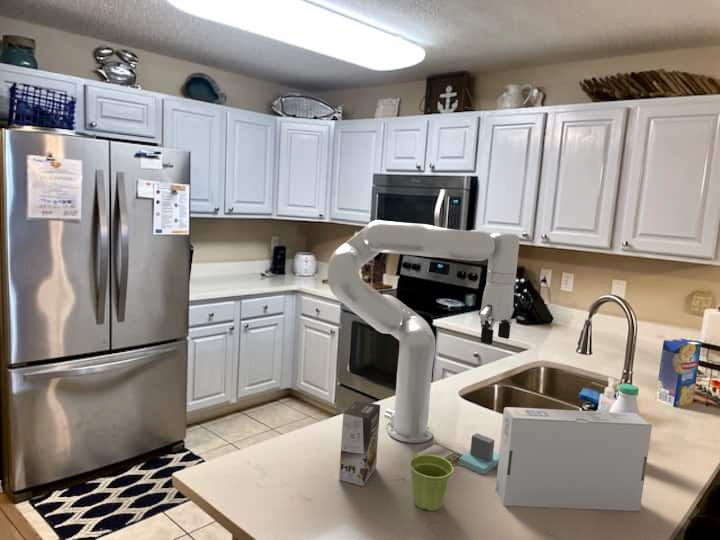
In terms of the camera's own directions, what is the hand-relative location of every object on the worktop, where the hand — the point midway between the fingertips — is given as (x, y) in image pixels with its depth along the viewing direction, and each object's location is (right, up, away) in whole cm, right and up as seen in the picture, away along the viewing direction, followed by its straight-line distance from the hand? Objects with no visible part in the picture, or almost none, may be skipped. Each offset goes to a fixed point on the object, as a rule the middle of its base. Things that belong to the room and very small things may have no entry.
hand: (495, 340), depth 138 cm
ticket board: (-17, -29, -11) cm, 35 cm away
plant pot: (-22, -31, -29) cm, 48 cm away
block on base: (-6, -30, -10) cm, 32 cm away
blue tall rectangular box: (+76, -28, +43) cm, 91 cm away
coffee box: (-37, -29, -19) cm, 51 cm away
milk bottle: (+33, -31, -3) cm, 45 cm away
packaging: (+9, -33, -25) cm, 42 cm away
